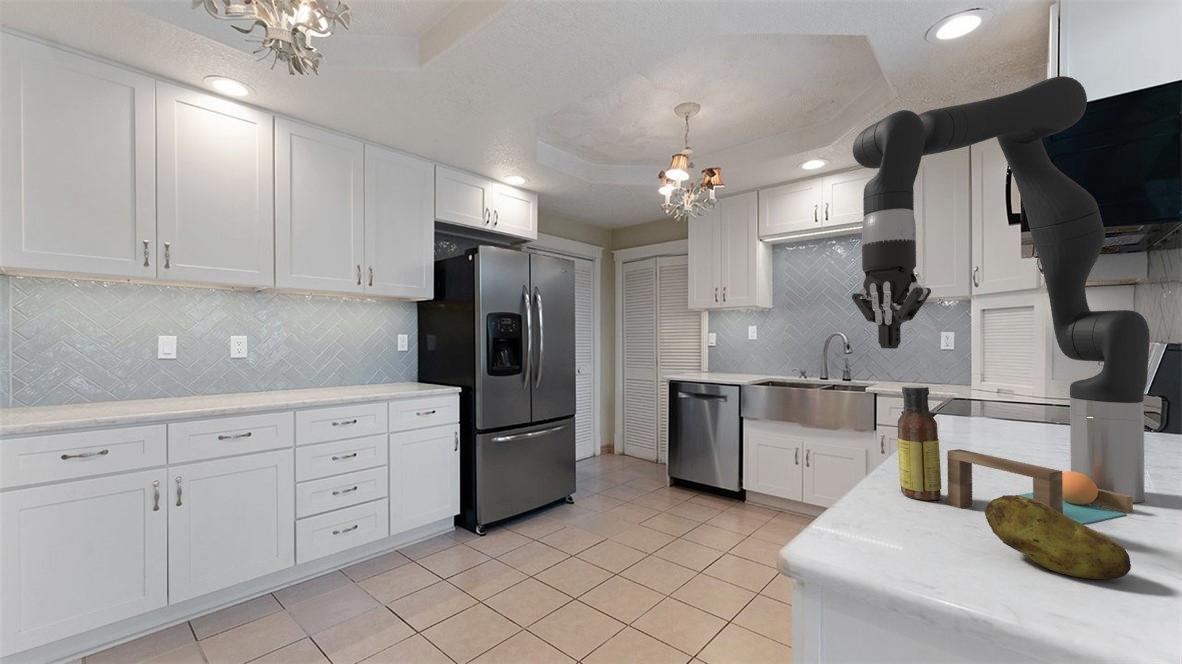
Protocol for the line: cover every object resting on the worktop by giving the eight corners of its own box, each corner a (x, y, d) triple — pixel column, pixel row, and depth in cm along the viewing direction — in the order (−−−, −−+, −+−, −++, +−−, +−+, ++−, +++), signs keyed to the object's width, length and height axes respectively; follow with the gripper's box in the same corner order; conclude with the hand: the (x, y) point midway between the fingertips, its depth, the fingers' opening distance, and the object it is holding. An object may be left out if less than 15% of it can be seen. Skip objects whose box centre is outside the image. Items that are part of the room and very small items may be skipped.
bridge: (960, 502, 86) (959, 449, 86) (1062, 534, 72) (1062, 470, 72) (947, 504, 85) (947, 450, 85) (1049, 536, 71) (1049, 472, 71)
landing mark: (1037, 492, 90) (1037, 491, 90) (1126, 515, 79) (1126, 514, 79) (993, 500, 87) (993, 499, 87) (1079, 525, 75) (1079, 523, 75)
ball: (1067, 493, 88) (1062, 463, 88) (1107, 503, 83) (1102, 471, 82) (1047, 503, 86) (1043, 473, 86) (1088, 514, 81) (1083, 482, 81)
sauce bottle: (937, 493, 90) (936, 385, 91) (945, 504, 85) (944, 388, 85) (895, 488, 93) (894, 383, 93) (900, 499, 88) (899, 387, 88)
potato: (1109, 599, 54) (1108, 526, 54) (975, 553, 66) (974, 493, 66) (1138, 581, 58) (1137, 513, 58) (1007, 541, 70) (1006, 484, 70)
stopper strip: (1051, 491, 91) (1051, 478, 91) (1132, 511, 81) (1132, 496, 81) (1046, 492, 91) (1046, 478, 91) (1127, 513, 80) (1127, 497, 80)
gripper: (945, 235, 75) (946, 349, 75) (870, 249, 88) (871, 347, 88) (909, 232, 73) (910, 349, 73) (837, 247, 85) (838, 347, 85)
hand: (889, 348), depth 80 cm, fingers closed
